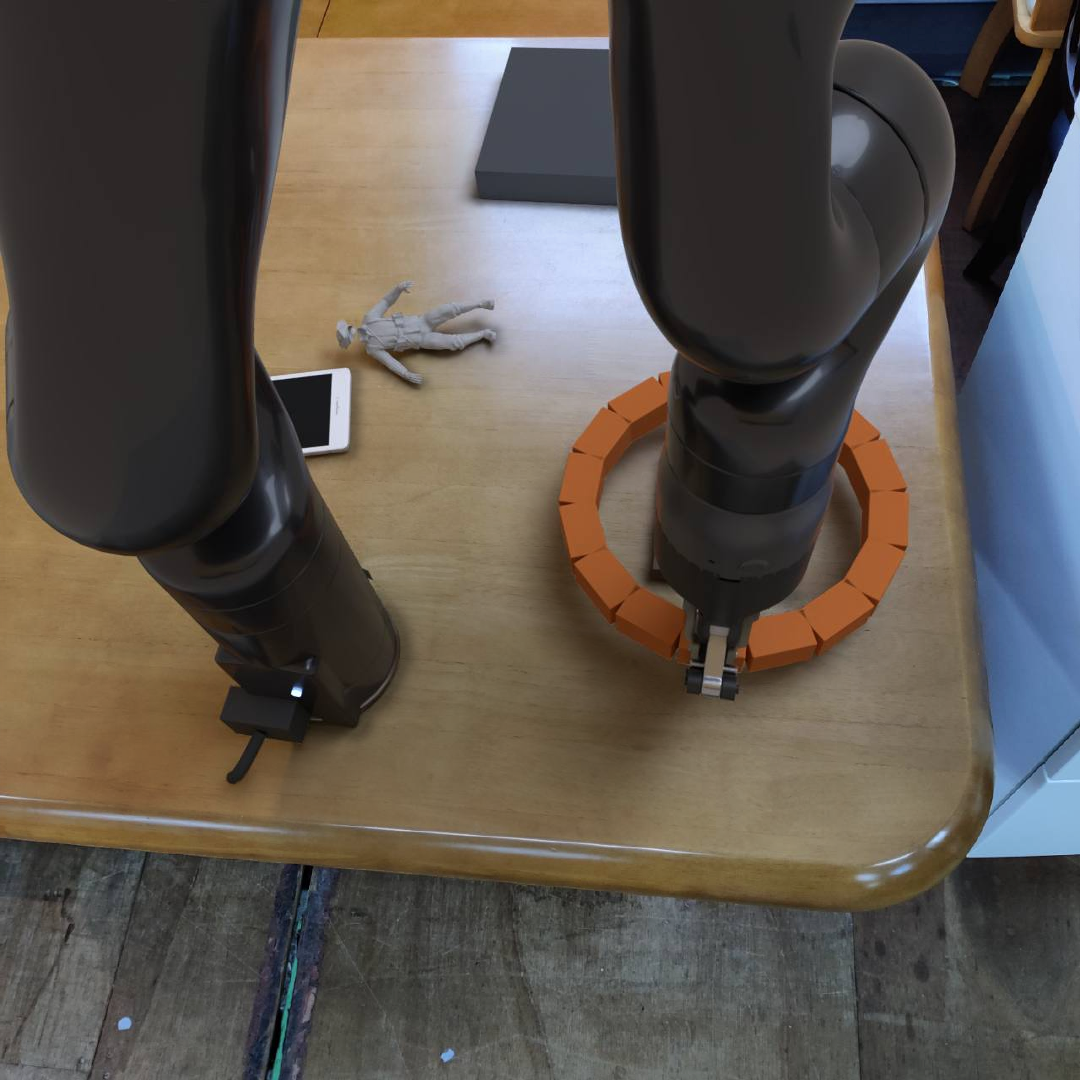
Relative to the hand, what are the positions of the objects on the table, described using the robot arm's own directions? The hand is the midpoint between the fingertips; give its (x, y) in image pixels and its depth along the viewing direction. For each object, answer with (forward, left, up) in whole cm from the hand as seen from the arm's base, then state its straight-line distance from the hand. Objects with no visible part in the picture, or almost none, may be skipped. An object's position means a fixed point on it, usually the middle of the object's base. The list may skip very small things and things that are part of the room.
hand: (711, 648), depth 58 cm
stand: (+50, +15, -3) cm, 52 cm away
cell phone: (+16, +37, -4) cm, 40 cm away
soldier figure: (+25, +25, -4) cm, 35 cm away
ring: (+10, 0, 0) cm, 10 cm away
